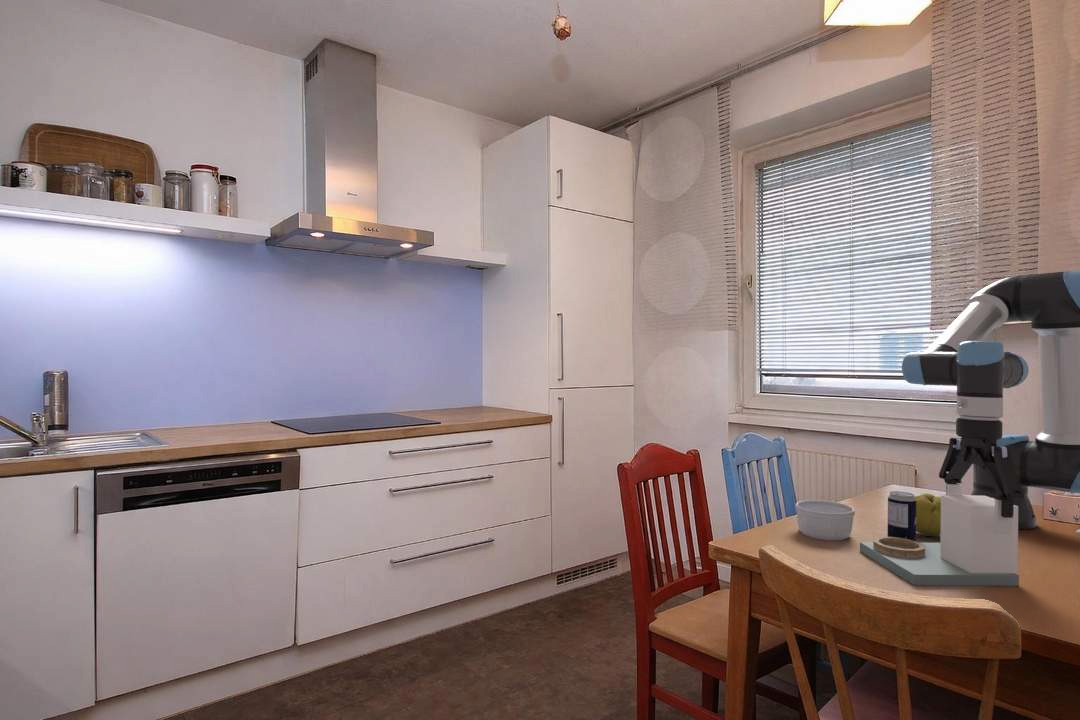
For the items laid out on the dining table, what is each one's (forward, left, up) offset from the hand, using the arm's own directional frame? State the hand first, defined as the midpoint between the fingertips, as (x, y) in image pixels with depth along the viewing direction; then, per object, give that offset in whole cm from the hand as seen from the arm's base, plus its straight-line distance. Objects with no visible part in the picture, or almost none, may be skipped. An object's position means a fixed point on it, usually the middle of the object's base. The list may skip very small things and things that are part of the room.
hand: (977, 524), depth 121 cm
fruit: (-7, -27, -11) cm, 30 cm away
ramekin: (+18, -28, -11) cm, 35 cm away
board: (+6, -5, -10) cm, 13 cm away
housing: (0, 0, -8) cm, 8 cm away
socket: (+10, -9, -8) cm, 16 cm away
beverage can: (+4, -19, -11) cm, 22 cm away
